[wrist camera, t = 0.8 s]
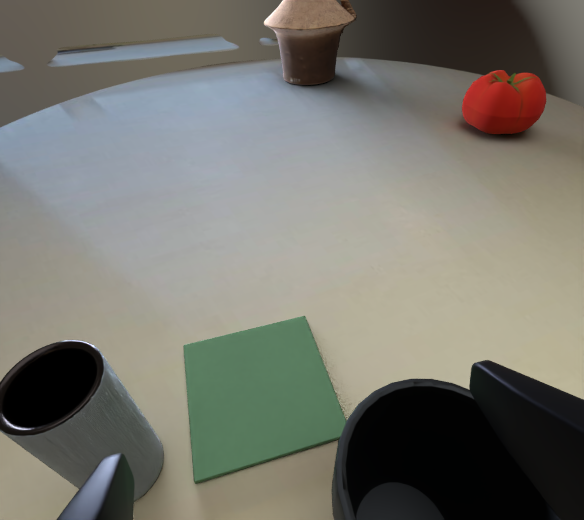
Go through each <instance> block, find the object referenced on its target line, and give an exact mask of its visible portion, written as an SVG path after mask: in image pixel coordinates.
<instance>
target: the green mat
mask: <svg viewBox="0 0 584 520" xmlns="http://www.w3.org/2000/svg"><path fill="white" fill-rule="evenodd" d="M184 358H185V371H186V384H187V396H188V409H189V422H190V434H191V447H192V460H193V472H194V482H195V484H197V483H200V482H203V481H206V480H210V479H213V478H216V477H219V476H222V475H226V474H229V473H232V472H235V471H238V470H242V469H245V468H248V467H251V466H254V465H258V464H261V463H264V462H267V461H271V460H274V459H277V458H280V457H283V456H287V455H290V454H293V453H296V452H299V451H303V450H306V449H309V448H312V447H315V446H319V445H322V444H325V443H328V442H331V441H335V440H338V439H340V436H341V434H342V431H343V429H344V426H345V424H346V419H345V417H344V414H343V412H342V409H341V407H340V404H339V402H338V399H337V396H336V394H335V391H334V389H333V386H332V384H331V381H330V379H329V376H328V373H327V371H326V368H325V366H324V363H323V361H322V358H321V356H320V353H319V351H318V348H317V345H316V343H315V340H314V338H313V335H312V333H311V330H310V328H309V325H308V322H307V320H306V317H305V316H302V317H298V318H294V319H290V320H285V321H281V322H277V323H273V324H269V325H265V326H261V327H257V328H253V329H248V330H244V331H240V332H236V333H232V334H228V335H224V336H220V337H216V338H212V339H207V340H203V341H199V342H195V343H191V344H187V345H184Z"/></svg>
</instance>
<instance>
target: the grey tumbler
mask: <svg viewBox="0 0 584 520" xmlns="http://www.w3.org/2000/svg"><path fill="white" fill-rule="evenodd" d="M0 431H1V432H2V433H4V434H5V435H6V436H8V437H9V438H10V439H12V440H13V441H14V442H16V443H17V444H18V445H20V446H21V447H23V448H24V449H25V450H27V451H28V452H29V453H31V454H32V455H33V456H35V457H36V458H38V459H39V460H40V461H42V462H43V463H44V464H46V465H47V466H48V467H50V468H51V469H53V470H54V471H55V472H57V473H58V474H59V475H61V476H62V477H63V478H65V479H66V480H68V481H69V482H70V483H72V484H73V485H74V486H76V487H77V488H78V489H80V488H81V487H82V485H83V484H84V483H85V481H86V480H87V479H88V477H89V476H90V475H91V473H92V472H93V471H94V469H95V468H96V467H97V465H98V464H99V463H100V461H101V460H102V459H103V458H104V457H106V456H110V455H114V454H118V453H123V454H124V455H125V457H126V459H127V462H128V464H129V466H130V469H131V471H132V474H133V476H134V482H135V489H134V501H136V500H137V499H139V498H140V497H141V496H143V495H144V494H145V493H146V492H147V491H148V490H149V489H150V488H151V487H152V485H153V484H154V482H155V481H156V479H157V477H158V476H159V473H160V471H161V468H162V464H163V458H164V453H163V447H162V444H161V441H160V439H159V438H158V436H157V434H156V433H155V431H154V430H153V428H152V427H151V425H150V424H149V422H148V421H147V420H146V418H145V417H144V415H143V414H142V412H141V411H140V409H139V408H138V406H137V405H136V403H135V402H134V400H133V399H132V397H131V396H130V394H129V393H128V392H127V390H126V389H125V387H124V386H123V384H122V383H121V381H120V380H119V378H118V377H117V375H116V374H115V372H114V371H113V369H112V368H111V366H110V365H109V364H108V362H107V361H106V359H105V358H104V356H103V355H102V353H101V352H100V351H99V350H98V349H97V348H96V347H95V346H94V345H92V344H90V343H87V342H84V341H78V340H67V341H61V342H56V343H53V344H50V345H47V346H44V347H42V348H40V349H38V350H36V351H34V352H32V353H31V354H29V355H28V356H26V357H25V358H23V359H22V360H21V361H19V362H18V363H17V364H16V365H15V366H14V367H13V368H12V369H11V370H10V371H9V372H8V373H7V374H6V375H5V377H4V378H3V379H2V381H1V382H0Z"/></svg>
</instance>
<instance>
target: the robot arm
mask: <svg viewBox="0 0 584 520" xmlns="http://www.w3.org/2000/svg"><path fill="white" fill-rule="evenodd" d="M469 387H470V392H471V394H472V396H473V398H474V400H475V401H476V403H477V404H478V406H479V407H480V409H481V411H482V412H483V414H484V415H485V417H486V419H487V420H488V422H489V423H490V425H491V426H492V428H493V430H494V431H495V433H496V434H497V436H498V438H499V439H500V441H501V442H502V444H503V445H504V447H505V448H506V449H507V451H508V452H509V454H510V455H511V456H512V458H513V459H514V460H515V462H516V463H517V464H518V465H519V467H520V468H521V469H522V471H523V472H524V473H525V475H526V476H527V477H528V478H529V480H530V481H531V482H532V484H533V485H534V486H535V488H536V489H537V490H538V492H539V493H540V494H541V495H542V497H543V498H544V499H545V501H546V502H547V503H548V505H549V506H550V507H551V508H552V510H553V511H554V512H555V514H556V515H557V516H558V518H559V519H560V520H584V400H583V399H581V398H578V397H576V396H573V395H571V394H569V393H566V392H564V391H561V390H559V389H557V388H554V387H552V386H549V385H547V384H545V383H542V382H540V381H537V380H535V379H533V378H530V377H528V376H525V375H523V374H521V373H518V372H516V371H514V370H511V369H509V368H506V367H504V366H502V365H499V364H497V363H494V362H492V361H489V360H485V361H481V362H477V363H474V364H473V365H472V368H471V377H470V385H469ZM134 489H135V482H134V476H133V474H132V471H131V469H130V466H129V464H128V462H127V459H126V457H125V455H124V454H123V453H118V454H114V455H110V456H106V457H104V458H103V459H102V460H101V461H100V463H99V464H98V465H97V467H96V468H95V469H94V471H93V472H92V473H91V475H90V476H89V477H88V479H87V480H86V481H85V483H84V484H83V485H82V487H81V488H80V489H79V491H78V492H77V493H76V494H75V496H74V497H73V498H72V500H71V501H70V502H69V504H68V505H67V506H66V508H65V509H64V510H63V512H62V513H61V514H60V516H59V517H58V518H57V520H133V507H134Z"/></svg>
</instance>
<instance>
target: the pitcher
mask: <svg viewBox="0 0 584 520" xmlns="http://www.w3.org/2000/svg"><path fill="white" fill-rule="evenodd" d="M341 4H342V5H340V4H339V3H338V2H337V1H336V0H283V1H282V3H281V4H280V5H279V6H278V8H277V9H276V10H275V11H274V12H273V13H272V14H271V15H270V16H269V17H268V18H267V19H266V20H265V21H264V25H265V26H267V27H269V28H271V29H273V30H274V31H275V33H276V35H277V39H278V43H279V47H280V53H281V60H282V67H283V78H284V80H285V81H287V82H289V83H292V84H299V85H312V84H320V83H324V82H327V81H330V80H331V79H332V78H334V76H335V65H336V56H337V50H338V47H339V41H340V36H341V33H343V29H344V28H345V27H346V26H348V25H349V24H350V23H352V22H354V21H355V20H356V18H357V17H356V16H357V15H356V13H355V11H354V10H353V8H352V6H351V5H350V2H349V0H341Z"/></svg>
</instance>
